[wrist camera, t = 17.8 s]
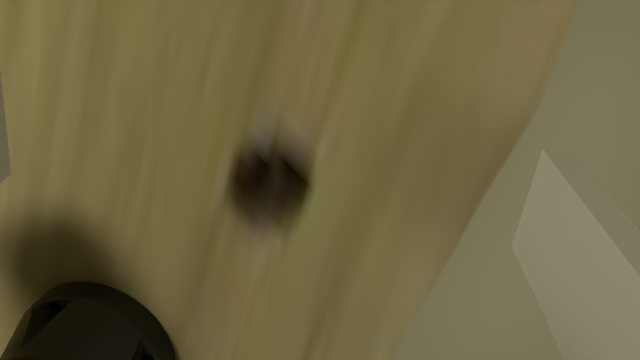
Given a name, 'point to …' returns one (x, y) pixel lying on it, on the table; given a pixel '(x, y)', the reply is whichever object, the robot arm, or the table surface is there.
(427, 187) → the table surface
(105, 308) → the robot arm
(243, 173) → the table surface
